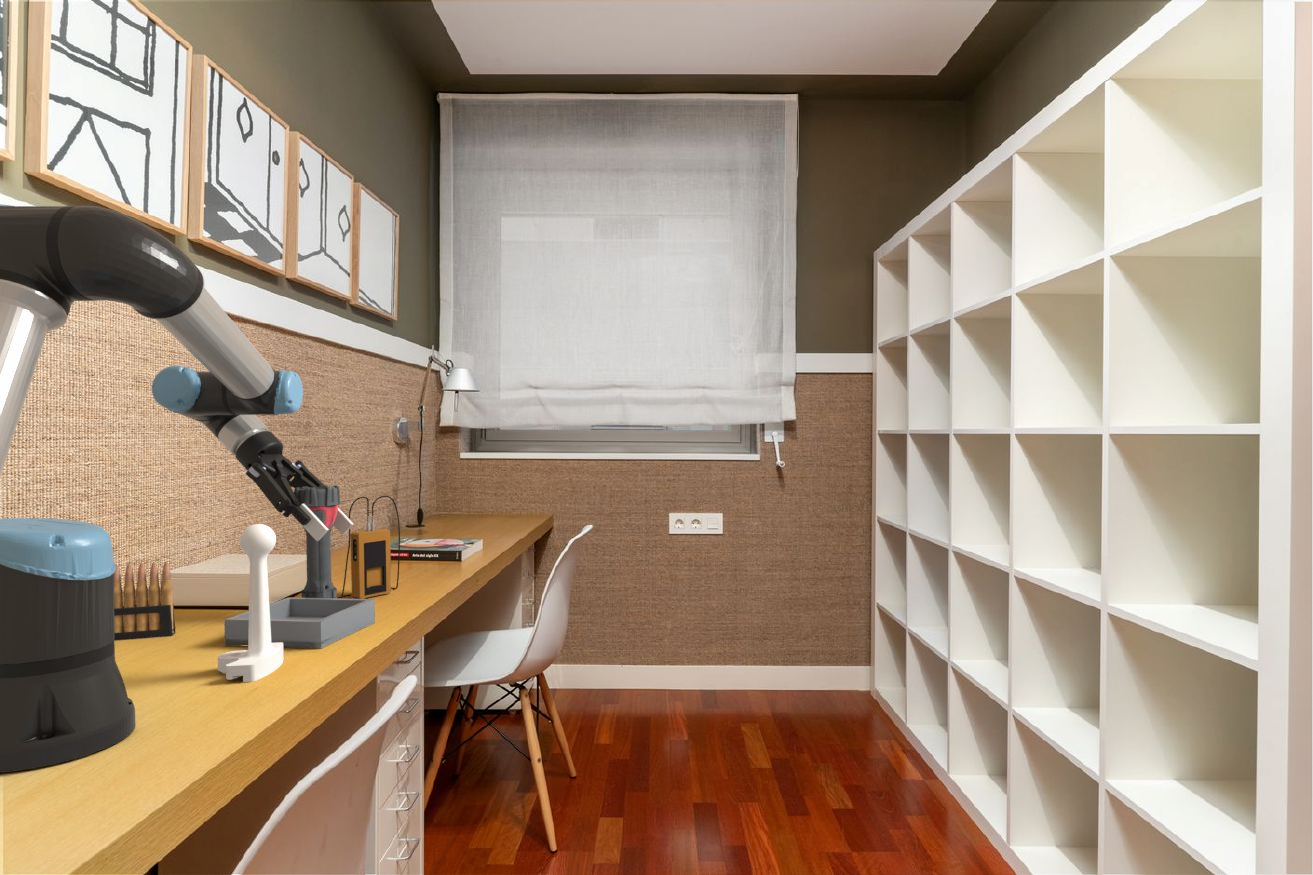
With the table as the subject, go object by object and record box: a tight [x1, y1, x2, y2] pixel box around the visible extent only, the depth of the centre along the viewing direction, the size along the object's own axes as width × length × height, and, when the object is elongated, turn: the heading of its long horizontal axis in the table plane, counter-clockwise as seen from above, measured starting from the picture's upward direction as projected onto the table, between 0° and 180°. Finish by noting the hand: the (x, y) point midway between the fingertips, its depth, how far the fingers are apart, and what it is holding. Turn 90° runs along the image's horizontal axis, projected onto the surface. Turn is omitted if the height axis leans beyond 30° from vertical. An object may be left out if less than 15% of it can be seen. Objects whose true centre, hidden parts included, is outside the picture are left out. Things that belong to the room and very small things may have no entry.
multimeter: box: [337, 495, 401, 599], centre depth 157 cm, size 15×10×20 cm
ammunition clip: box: [114, 561, 177, 642], centre depth 126 cm, size 11×2×12 cm, turn 107°
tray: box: [223, 596, 376, 650], centre depth 127 cm, size 16×16×4 cm
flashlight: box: [293, 484, 341, 598], centre depth 141 cm, size 8×8×23 cm
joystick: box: [217, 523, 285, 683], centre depth 107 cm, size 11×8×20 cm
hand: (335, 532), depth 141 cm, fingers closed on flashlight, 7 cm apart
